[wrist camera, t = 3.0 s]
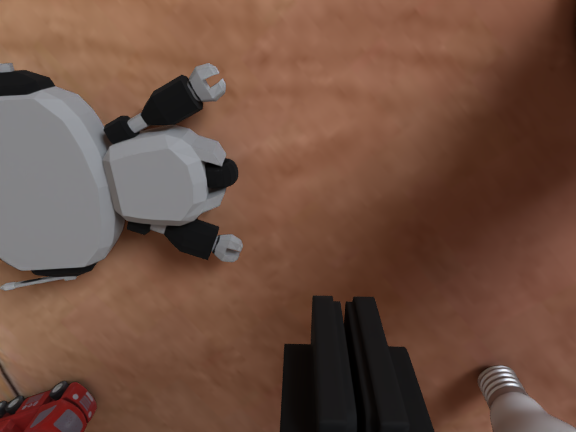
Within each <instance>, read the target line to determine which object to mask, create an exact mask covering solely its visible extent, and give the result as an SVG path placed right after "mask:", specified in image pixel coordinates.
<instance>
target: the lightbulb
mask: <svg viewBox="0 0 576 432" xmlns="http://www.w3.org/2000/svg"><path fill="white" fill-rule="evenodd" d="M478 386H479V387H480V390H481V392H482V394H483V396H484V398H485V400H486V402H487V404H488V407H489V409H490V421H491V425H492V429H493V432H576V428H575V427H573V426H572V425H570V424H568V423H566V422H564V421H562V420H560V419H558V418H556V417H553V416H551V415H550V414H548V413H547V412H546V411H545V410H544V409H543V408H542V407H541V406H540V405H539V404H538V403H537V402H536V401H535V400H534V399H532V398H531V397H529V395H528V394H527V392H526V391H525V389H524V387H523V386H522V384H521V383H520V382H519V379H518V378H517V376H516V374H515V372H514V371H513V370H512V369H511V368H509V367H506V366H492V367H489V368H487V369H485V370H484V371H483V372H482V373H481V374H480V375H479V377H478Z"/></svg>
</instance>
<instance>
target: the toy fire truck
mask: <svg viewBox="0 0 576 432" xmlns="http://www.w3.org/2000/svg"><path fill="white" fill-rule="evenodd" d="M96 409H97V405H96V402H95V400H94V398H93V396H92V395H91V394H90V392H89V391H88V390H87V389H86V388H84V387H83V386H82V385H80V384H79V383H77V382H73V383H71V384H70V385H68V383H67V382H66V381H62V382H60V383H58V384H57V385H55V386H54V388H53V389H52V390H49V391H46V392H43V393H40V394H37V395H34V396H31V397H28V398H26V399H25V398H24V397H23V396H18V397H16V398H15V399H13V400H12V401H11V402H10V403H9V404H8V403H7V402H6V401H2V402H0V432H84V430H85V428H86V426H87V423H88V422H89V421H90V420H91V418H92V416H93V415H94V413H95V410H96Z"/></svg>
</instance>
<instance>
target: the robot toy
mask: <svg viewBox="0 0 576 432" xmlns="http://www.w3.org/2000/svg"><path fill="white" fill-rule="evenodd" d="M215 74H219V71H218V69H217V68H216V67H215V66H213V65H211V64H209V63H207V64H204V65H200V66H197V67H195V69H194V71H193V72H192V74H191V76H190V77H189V79H188V78H187V76H184V75H181V76H179V77H177V78H175V79H174V80H172V81H170V82H169V83H167V84H165V85H163V86H162V87H160V88H158V89H157V90H155V91H154V92H153V93H152V95H151V96H150V98H149V100H148V101H147V103H146V105H145V107H144V109H143V110H142V112H141V113H140V114H138V115H136V116H135V117H133V118H130V117H128V116H120V117H118V118H117V119H115V120H113V121H112V122H110V123H108V124H106V125H105V127H104V126H103V124H102V122H101V120H100V119H99V117H98V116H97V114H96V113H95V111H94V110H93V109H92V108H91V107H90V106H89V105H88V104H87V103H86V102H85V101H84V100H83V99H82V98H81V97H80V96H79V95H78V94H76V93H73V92H70V91H67V90H64V89H62V88H59V87H56V86H55V85H54V83H53V82H52V80H51V79H50V78H49V77H46V76H43V75H39V74H36V73H33V72H30V71H27V70H19V71H14V67H13V64H12V63H5V64H0V259H2V260H3V261H4V262H5V263H7V264H8V265H10V266H12V267H14V268H16V269H18V270H20V271H25V270H31V271H32V272H33V274H35V275H41V276H49V277H43V278H38V279H32V280H27V281H21V282H16V283H15V282H10V283H5V284H4V285H2V286H1V287H0V289H2V290H5V291H6V290H12V289H15V288H17V287H22V286H28V285H33V284H38V283H44V282H49V281H55V280H60V279H65V281H67V280H73V279H76V278H77V276H79V275H81V274H84V273H86V272H89V271H91V270H92V269H93V268H94V266H95V265H96V264H97V262H98V261H100V260H102V259H105V257H106V256H107V254H108V253H109V252H110V250H111V249H112V248H113V246H114V245H115V244H116V242H117V240H118V238H119V236H120V234H121V233H122V231H123V227H124V223H125V220H127V221H128V225H127V229H128V230H131V231H134V232H137V233H140V234H143V235H145V234H147V233H148V232H149V231H150V230H153V231H156V232H159V233H162V234H164V235H165V236H166V237H167V238H168V240H169V241H170V242H171V243H172V244H173V245H174V246H175V247H176V248H177V249H178V250H179V251H181V252H184V253H187V254H190V255H193V256H196V257H199V258H202V259H206V260H208V258H209V256H210V253H211V251H212V252H213V253H214V254H215V255H216V256H217V257H218V258H219V259H220V260H221V261H226V262H234V261H236V260H237V259H238V257H239V253H240V252H241V250H242V247H243V244H242V241H241V240H240V239H239V238H237V237H235V236H234V235H232V234H227V235H218V236H217V234H218V230H219V227H218V226H215V225H213V224H210V223H207V222H204V221H201V220H198V219H196V218H197V217H198V216H199V215H200V214H201V213H203V212H206V211H208V210H211V209H213V208H215V207H218V206H220V203H221V201H222V198H223V196H224V194H225V191H226V187H228V186H231V185H233V184H234V183H235V182H236V180H237V178H238V168H237V166H236V164H235V162H234V161H232V160H231V159H226V158H225V157H226V153H225V151H224V150H223V148H222V146H221V145H220V143H219V142H218V141H216V140H212V139H209V138H205V137H202V136H199V135H197V134H196V133H195V132H193V131H192V130H191V129H189V128H185V127H181V126H178V125H175V124H177V123H179V122H181V121H182V120H184V119H186V118H188V117H189V116H191V115H193V114H195V113H196V112H198V111H200V110H202V109H203V102H209V101H217V100H218V99H219V98H220V97H221V96H222V95H223V94H224V93H225V90H226V84H225V82H224V80H223V78H222V79H221V80H220V81H219V82H218V83H217V84H215V85H214V86H212V87H209V85H208V83H207V82H206V80H205V79H206V78H208V77H210V76H212V75H215ZM150 125H169V126H163V127H157V128H151V129H147V130H143V129H144V128H146V127H148V126H150ZM141 130H143V131H141ZM232 249H233V250H232ZM234 250H237V251H240V252H237V251H234Z"/></svg>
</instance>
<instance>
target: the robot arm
mask: <svg viewBox="0 0 576 432" xmlns="http://www.w3.org/2000/svg"><path fill="white" fill-rule="evenodd" d="M280 432H434V429H433V426H432V423H431V420H430V417H429V414H428V411H427V408H426V405H425V402H424V399H423V396H422V393H421V390H420V387H419V384H418V381H417V378H416V375H415V372H414V369H413V366H412V363H411V360H410V357H409V354H408V352H407V349H406V348H405V347H392V346H388V345H387V341H386V337H385V334H384V330H383V327H382V323H381V319H380V316H379V312H378V308H377V305H376V301H375V298H374V297H355V296H354V297H353V301H352V302H346V304H345V315H344V323H343V316H342V309H341V303H340V301H333V297H332V296H313V298H312V323H311V344H285V345H284V362H283V381H282V401H281V420H280Z"/></svg>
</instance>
